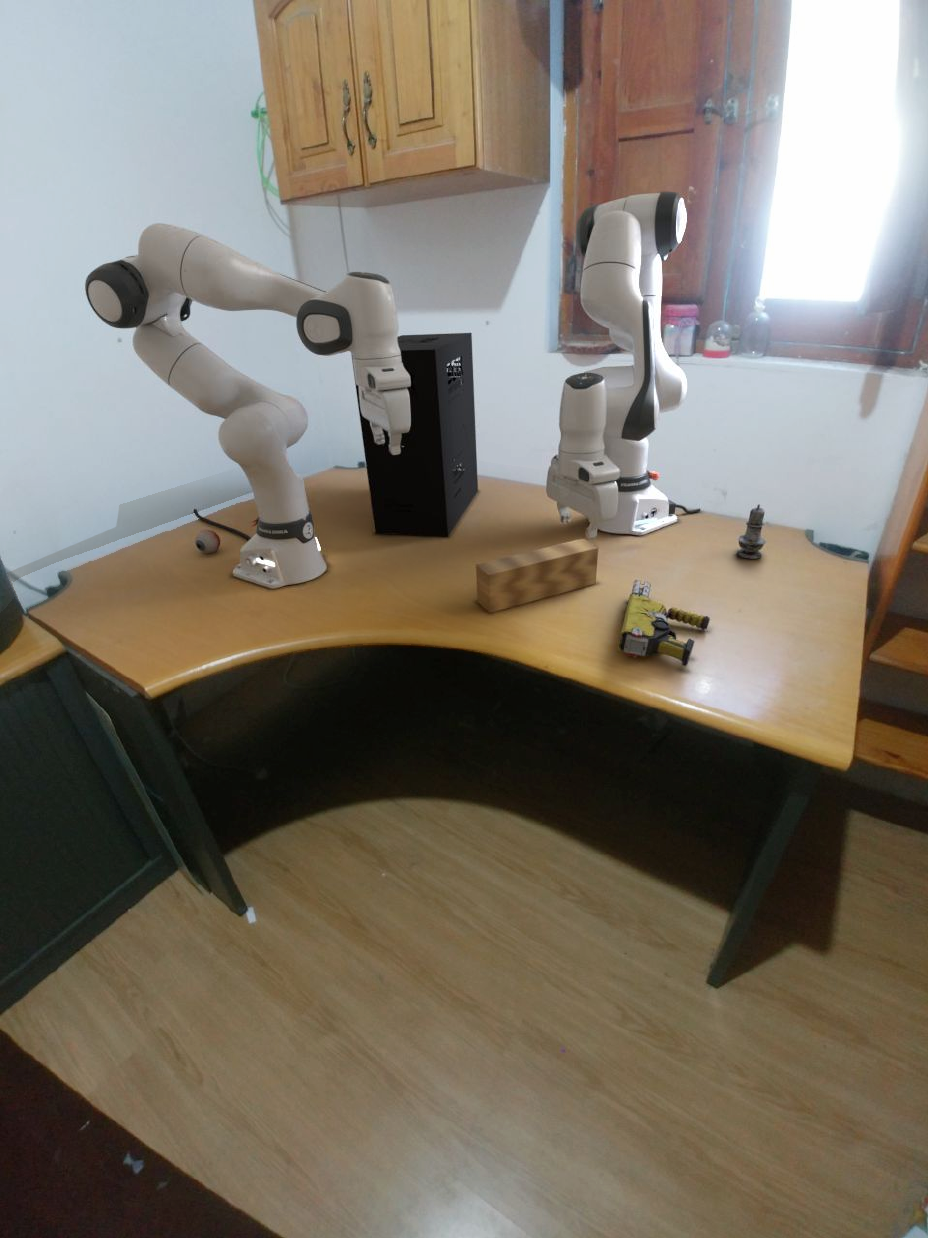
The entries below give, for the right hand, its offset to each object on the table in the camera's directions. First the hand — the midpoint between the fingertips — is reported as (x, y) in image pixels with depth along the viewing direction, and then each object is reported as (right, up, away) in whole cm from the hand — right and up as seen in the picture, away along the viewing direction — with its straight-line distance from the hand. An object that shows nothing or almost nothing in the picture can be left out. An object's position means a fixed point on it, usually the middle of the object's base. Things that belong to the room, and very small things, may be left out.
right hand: (577, 529), depth 125 cm
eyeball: (-90, -1, +31) cm, 95 cm away
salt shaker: (+42, -4, +14) cm, 45 cm away
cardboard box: (-33, +13, +50) cm, 62 cm away
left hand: (-39, +15, -7) cm, 42 cm away
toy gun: (+14, -21, -13) cm, 28 cm away
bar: (-8, -13, +3) cm, 16 cm away
